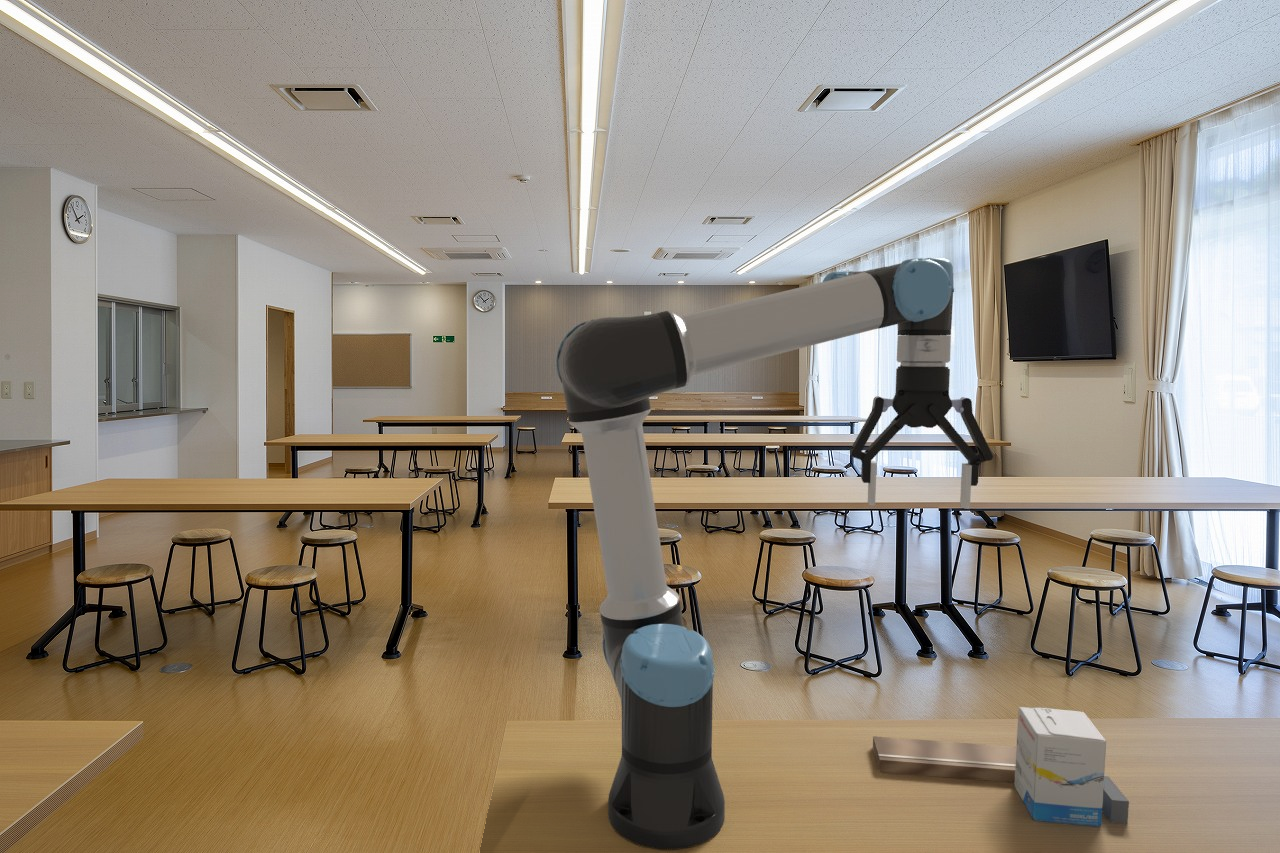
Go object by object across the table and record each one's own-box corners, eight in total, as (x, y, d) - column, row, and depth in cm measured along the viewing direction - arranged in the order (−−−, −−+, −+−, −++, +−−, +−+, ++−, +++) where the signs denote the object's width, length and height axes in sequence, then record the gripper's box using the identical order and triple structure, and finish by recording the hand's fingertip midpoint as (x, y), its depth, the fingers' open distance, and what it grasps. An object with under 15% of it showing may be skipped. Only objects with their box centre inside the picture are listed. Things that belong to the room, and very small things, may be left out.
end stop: (1110, 822, 101) (1112, 800, 101) (1091, 796, 107) (1092, 775, 107) (1127, 823, 101) (1128, 801, 101) (1107, 797, 107) (1108, 776, 107)
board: (879, 771, 113) (879, 759, 113) (872, 747, 120) (873, 735, 120) (1073, 787, 109) (1074, 774, 109) (1055, 761, 116) (1055, 748, 116)
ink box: (1103, 828, 100) (1109, 740, 99) (1031, 821, 102) (1036, 733, 100) (1078, 791, 108) (1083, 709, 107) (1013, 785, 110) (1017, 704, 109)
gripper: (839, 364, 116) (835, 507, 118) (1020, 365, 112) (1012, 513, 114) (834, 363, 123) (831, 498, 125) (1004, 364, 119) (997, 503, 121)
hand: (917, 505), depth 120 cm, fingers open, 13 cm apart
